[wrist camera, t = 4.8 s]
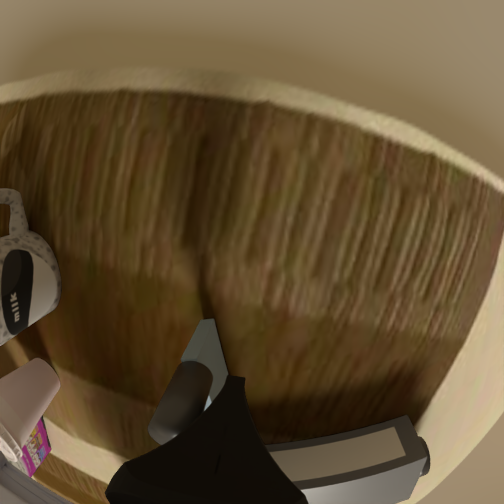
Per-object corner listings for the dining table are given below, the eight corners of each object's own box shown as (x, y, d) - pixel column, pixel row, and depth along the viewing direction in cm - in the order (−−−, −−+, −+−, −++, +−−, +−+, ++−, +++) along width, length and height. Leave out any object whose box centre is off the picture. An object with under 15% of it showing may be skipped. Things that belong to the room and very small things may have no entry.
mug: (67, 321, 18) (12, 363, 11) (16, 302, 18) (-35, 332, 12) (59, 185, 16) (-16, 192, 9) (7, 186, 16) (-55, 194, 9)
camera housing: (258, 488, 21) (255, 527, 16) (238, 446, 19) (232, 493, 14) (407, 459, 19) (420, 494, 14) (420, 409, 18) (441, 450, 13)
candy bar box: (12, 382, 21) (-65, 458, 5) (41, 406, 21) (-34, 495, 5) (26, 431, 24) (-28, 497, 8) (52, 450, 24) (1, 524, 8)
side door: (256, 448, 19) (249, 533, 11) (234, 448, 19) (221, 532, 11) (222, 317, 16) (184, 419, 8) (193, 319, 16) (139, 416, 8)
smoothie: (15, 344, 19) (-74, 416, 6) (50, 344, 19) (-54, 439, 5) (43, 397, 21) (-27, 477, 7) (82, 403, 20) (7, 506, 6)
